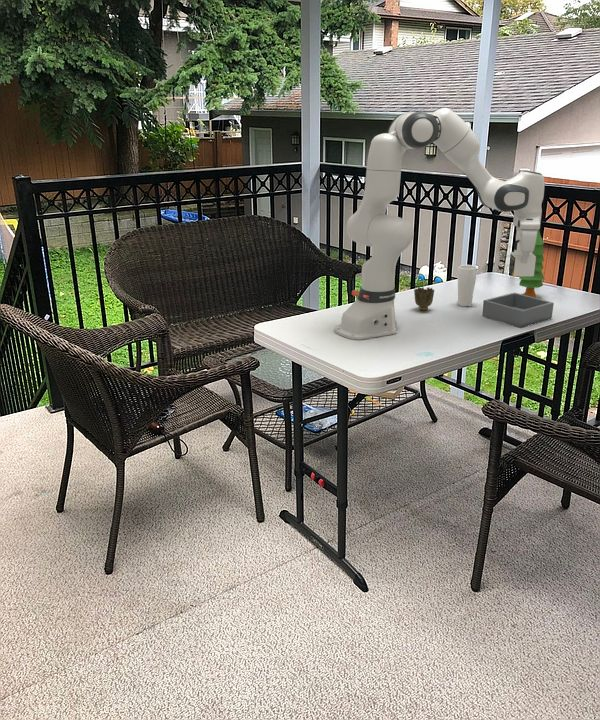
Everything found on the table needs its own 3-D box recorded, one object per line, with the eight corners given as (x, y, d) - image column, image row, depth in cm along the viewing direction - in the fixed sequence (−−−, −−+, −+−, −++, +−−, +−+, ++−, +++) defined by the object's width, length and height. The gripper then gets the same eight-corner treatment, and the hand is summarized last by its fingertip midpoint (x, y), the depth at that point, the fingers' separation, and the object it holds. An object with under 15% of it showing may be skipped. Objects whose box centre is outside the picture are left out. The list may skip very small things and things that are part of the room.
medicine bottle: (508, 271, 227) (511, 238, 222) (528, 271, 226) (532, 237, 221) (512, 276, 220) (516, 242, 215) (534, 276, 219) (537, 242, 215)
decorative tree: (518, 300, 249) (527, 223, 238) (514, 293, 257) (522, 219, 246) (544, 300, 247) (554, 223, 236) (538, 294, 256) (547, 219, 245)
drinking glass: (475, 307, 241) (478, 268, 236) (457, 307, 241) (460, 269, 236) (471, 302, 247) (474, 264, 242) (454, 302, 248) (456, 264, 242)
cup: (411, 312, 237) (412, 291, 235) (414, 306, 244) (415, 286, 241) (431, 313, 235) (433, 292, 232) (434, 307, 242) (435, 287, 239)
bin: (520, 328, 218) (522, 311, 216) (482, 316, 231) (483, 300, 229) (551, 318, 226) (553, 302, 224) (512, 307, 240) (514, 292, 237)
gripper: (513, 215, 226) (509, 253, 231) (520, 225, 207) (516, 266, 212) (532, 215, 225) (528, 254, 230) (541, 225, 206) (536, 267, 211)
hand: (522, 260), depth 221 cm, fingers closed on medicine bottle, 7 cm apart
